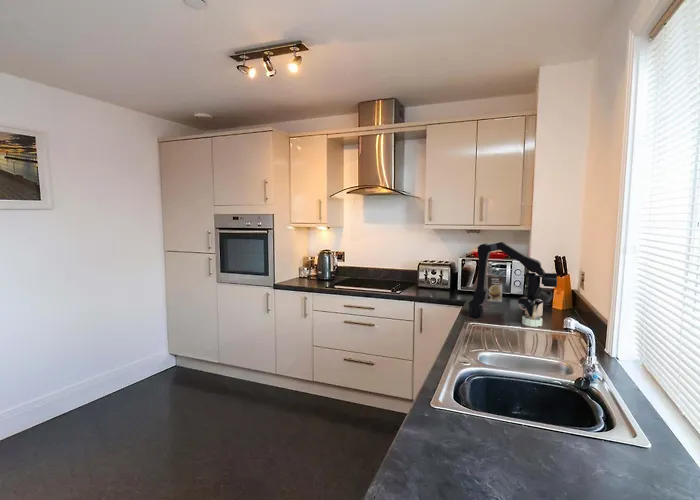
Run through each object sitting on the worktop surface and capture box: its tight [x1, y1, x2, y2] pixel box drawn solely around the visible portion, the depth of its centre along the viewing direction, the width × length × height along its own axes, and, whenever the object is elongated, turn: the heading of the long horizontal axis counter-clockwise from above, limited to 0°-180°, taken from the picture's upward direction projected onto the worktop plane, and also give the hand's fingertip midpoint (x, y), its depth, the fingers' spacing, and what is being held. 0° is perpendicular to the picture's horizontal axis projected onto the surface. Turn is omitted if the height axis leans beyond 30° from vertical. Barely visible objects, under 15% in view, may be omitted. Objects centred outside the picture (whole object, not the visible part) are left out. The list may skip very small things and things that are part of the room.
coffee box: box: [485, 274, 504, 303], centre depth 239 cm, size 9×6×16 cm
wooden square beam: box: [529, 306, 536, 320], centre depth 188 cm, size 2×2×8 cm
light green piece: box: [521, 315, 543, 328], centre depth 188 cm, size 9×9×3 cm
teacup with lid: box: [518, 297, 544, 318], centre depth 206 cm, size 12×9×12 cm
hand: (532, 315), depth 188 cm, fingers closed on wooden square beam, 2 cm apart
